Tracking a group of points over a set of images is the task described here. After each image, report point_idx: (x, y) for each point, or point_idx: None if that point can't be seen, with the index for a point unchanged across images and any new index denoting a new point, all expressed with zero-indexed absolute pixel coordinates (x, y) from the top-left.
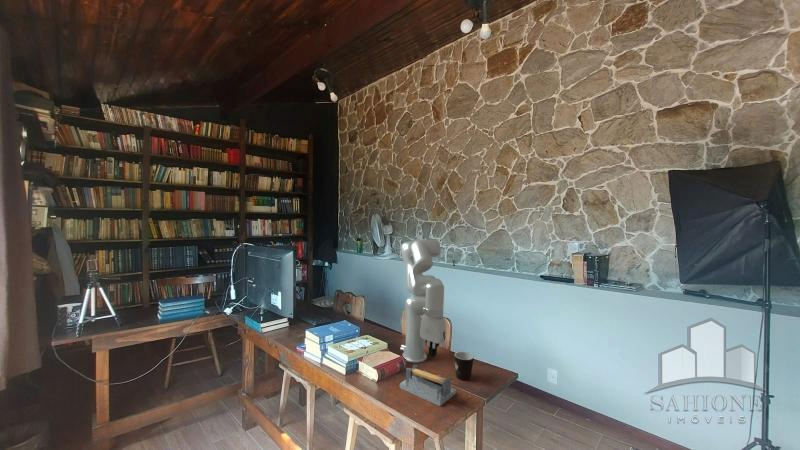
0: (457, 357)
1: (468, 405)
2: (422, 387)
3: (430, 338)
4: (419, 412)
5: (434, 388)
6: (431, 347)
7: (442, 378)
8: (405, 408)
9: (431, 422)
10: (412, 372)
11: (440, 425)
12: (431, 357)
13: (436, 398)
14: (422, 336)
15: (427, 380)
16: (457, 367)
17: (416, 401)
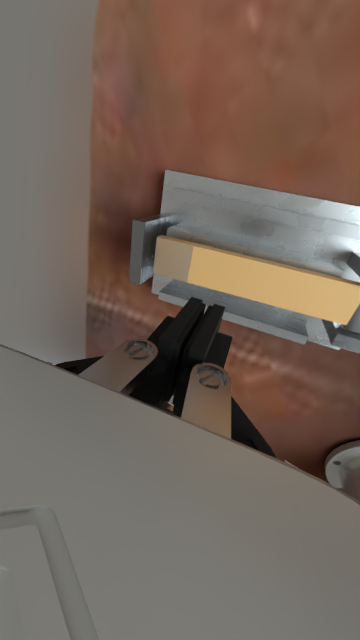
0: None
1: (101, 238)
2: (264, 205)
3: (53, 435)
4: (235, 48)
5: (192, 200)
6: (184, 370)
7: (170, 272)
8: (323, 21)
9: (156, 4)
10: (358, 283)
11: (117, 16)
12: (196, 298)
13: (186, 183)
14: (354, 557)
15: None
16: (172, 397)
17: (280, 142)
